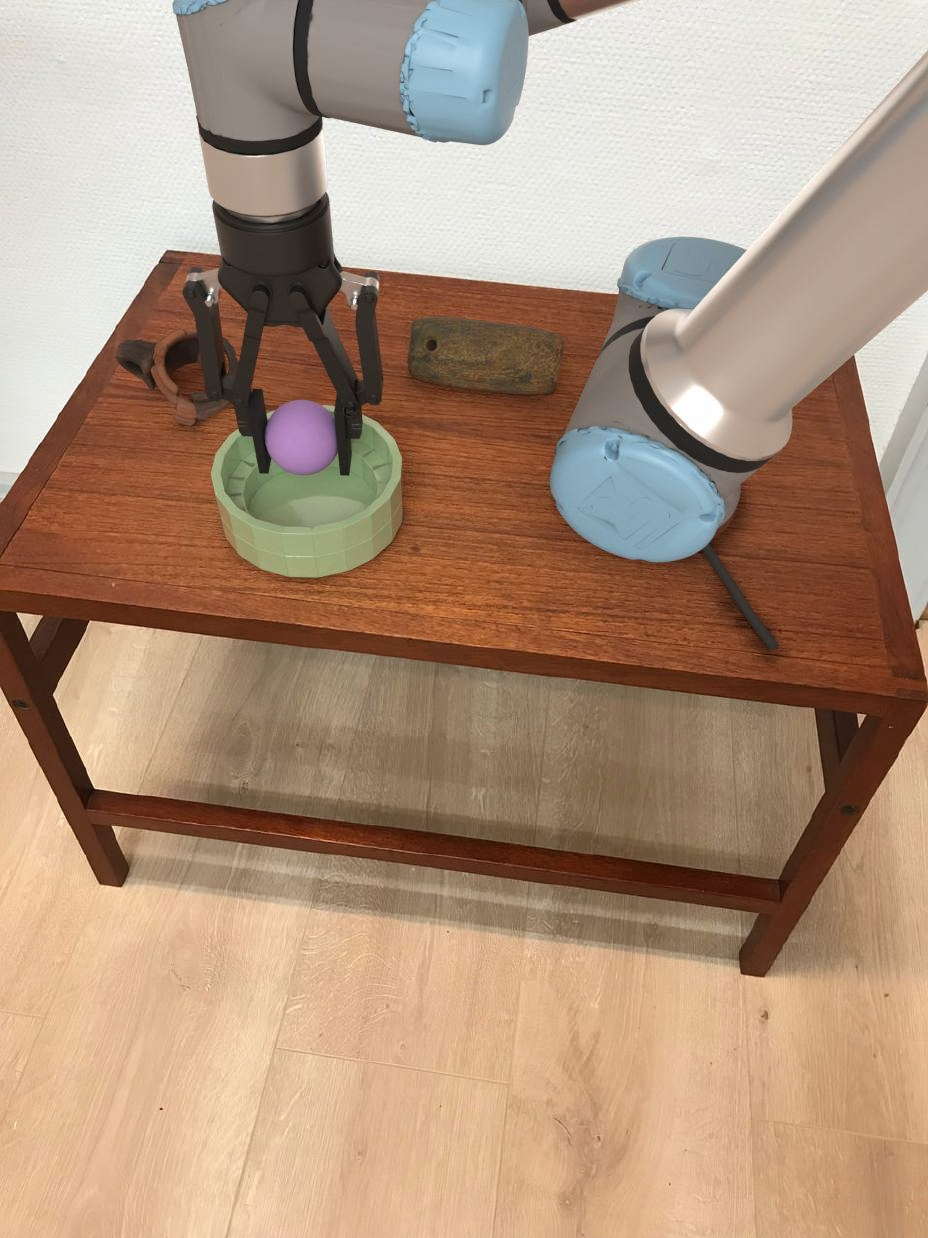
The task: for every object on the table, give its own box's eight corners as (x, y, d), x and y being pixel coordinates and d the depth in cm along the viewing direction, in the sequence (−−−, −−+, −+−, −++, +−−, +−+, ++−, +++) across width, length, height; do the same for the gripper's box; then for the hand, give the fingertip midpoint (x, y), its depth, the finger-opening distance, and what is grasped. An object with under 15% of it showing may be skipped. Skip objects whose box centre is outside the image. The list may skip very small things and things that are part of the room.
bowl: (398, 586, 81) (396, 535, 76) (209, 581, 81) (195, 531, 76) (407, 458, 91) (405, 406, 86) (238, 454, 90) (228, 402, 86)
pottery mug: (248, 363, 100) (252, 325, 92) (234, 450, 98) (238, 419, 90) (125, 337, 97) (119, 296, 89) (108, 426, 95) (100, 392, 87)
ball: (339, 491, 79) (333, 434, 74) (265, 489, 79) (255, 432, 74) (345, 442, 83) (340, 385, 78) (274, 440, 83) (265, 382, 78)
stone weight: (406, 402, 96) (404, 344, 90) (412, 358, 100) (411, 300, 95) (559, 410, 95) (567, 352, 90) (559, 365, 100) (565, 308, 94)
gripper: (419, 169, 65) (422, 436, 83) (134, 160, 65) (199, 430, 83) (414, 229, 60) (418, 498, 79) (108, 220, 60) (182, 492, 78)
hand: (306, 462), depth 81 cm, fingers closed on ball, 6 cm apart
